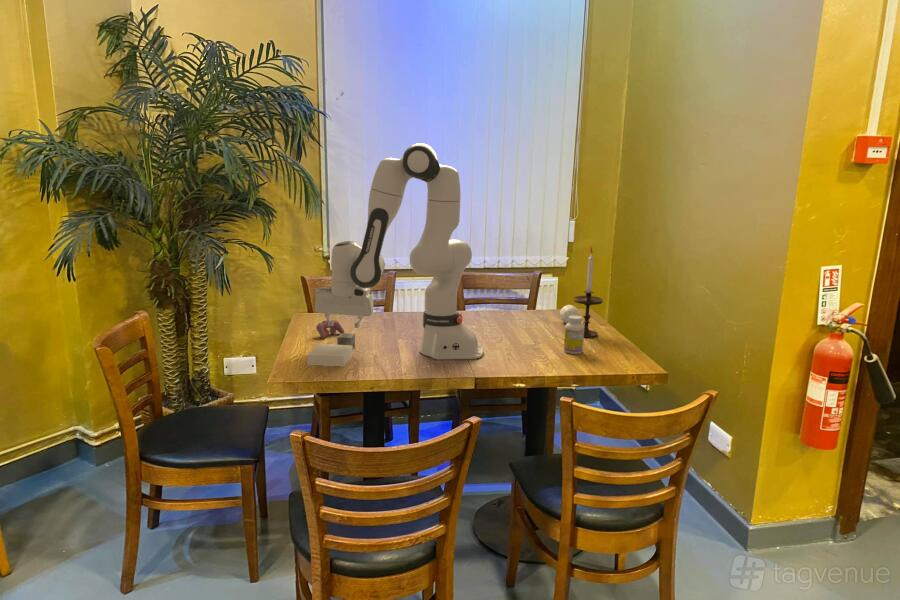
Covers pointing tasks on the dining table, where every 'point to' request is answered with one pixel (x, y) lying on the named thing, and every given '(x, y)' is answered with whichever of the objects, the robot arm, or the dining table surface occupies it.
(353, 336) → the slate cube
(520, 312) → the dining table surface
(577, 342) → the supplement bottle
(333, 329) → the video game controller
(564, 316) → the geometric ball
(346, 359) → the cream block
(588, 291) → the candlestick
